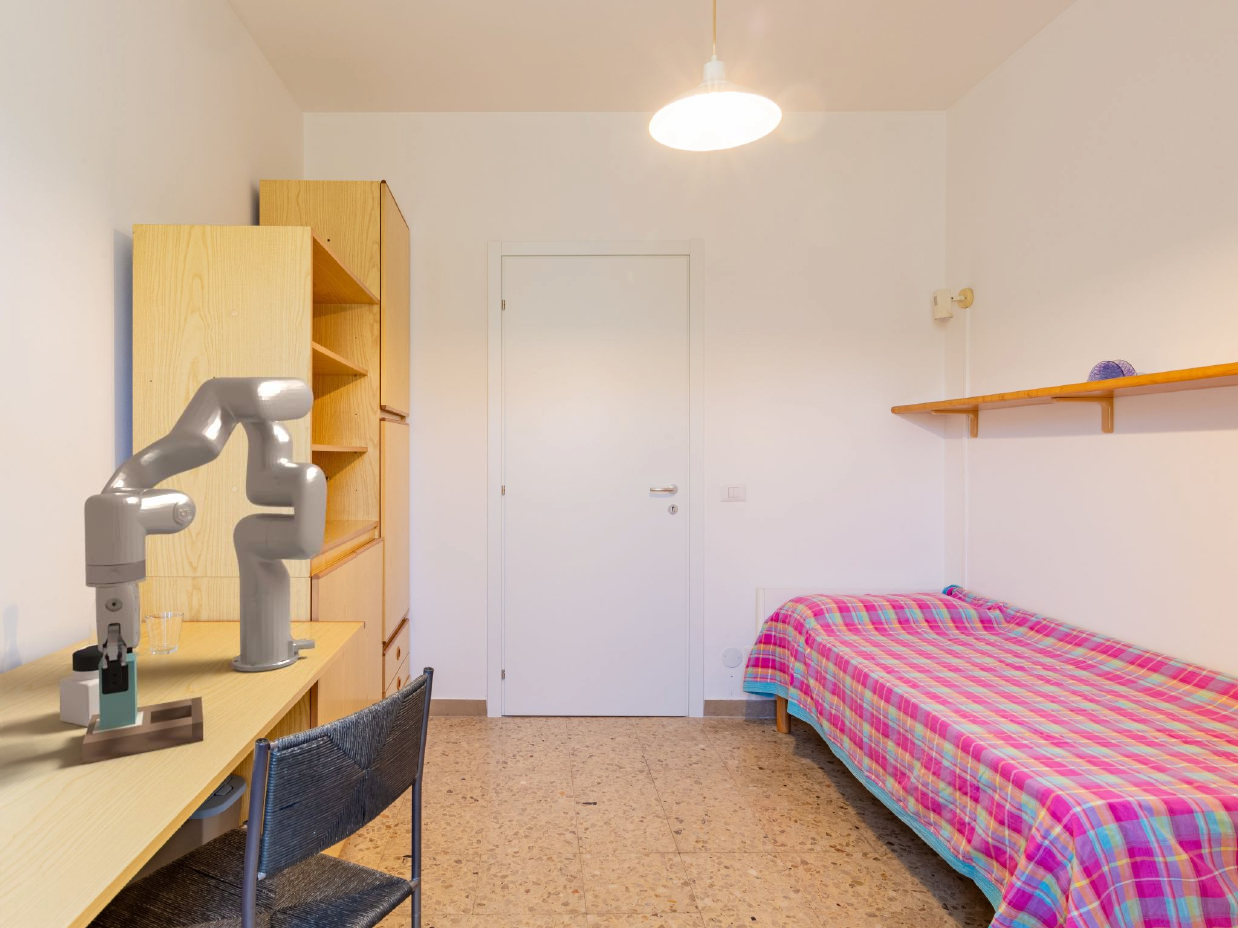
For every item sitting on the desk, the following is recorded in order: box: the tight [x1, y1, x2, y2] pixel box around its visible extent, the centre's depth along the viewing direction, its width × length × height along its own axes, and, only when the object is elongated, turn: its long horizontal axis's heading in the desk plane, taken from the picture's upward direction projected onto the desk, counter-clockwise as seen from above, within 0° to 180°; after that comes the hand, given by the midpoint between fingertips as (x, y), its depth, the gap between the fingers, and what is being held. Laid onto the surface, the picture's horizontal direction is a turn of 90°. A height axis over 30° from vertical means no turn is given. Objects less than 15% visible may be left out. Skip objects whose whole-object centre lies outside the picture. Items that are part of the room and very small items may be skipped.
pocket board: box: [81, 696, 204, 765], centre depth 108 cm, size 15×12×3 cm
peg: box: [99, 652, 138, 730], centre depth 106 cm, size 4×4×10 cm
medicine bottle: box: [58, 643, 103, 728], centre depth 115 cm, size 7×7×12 cm
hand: (118, 682), depth 106 cm, fingers open, 9 cm apart
